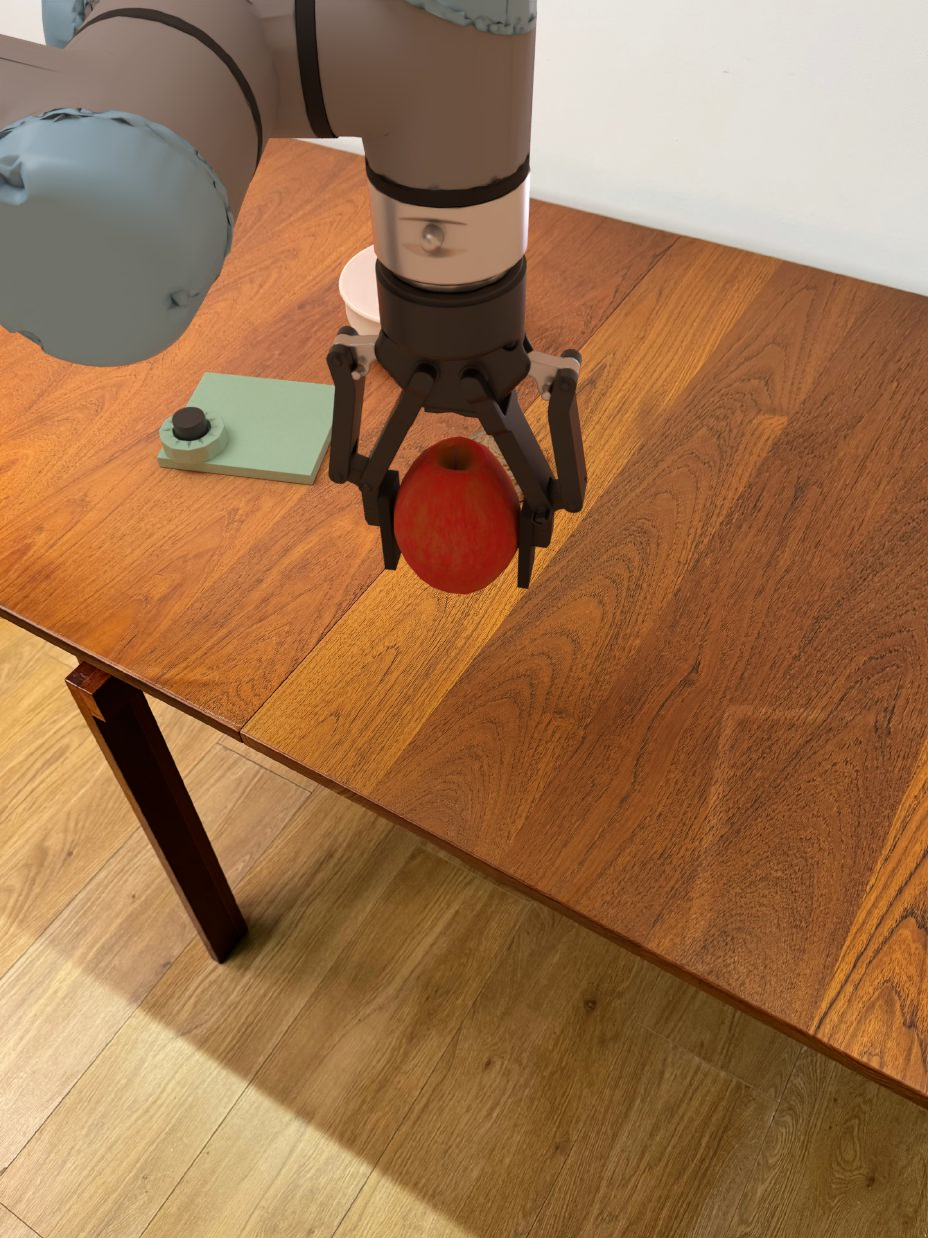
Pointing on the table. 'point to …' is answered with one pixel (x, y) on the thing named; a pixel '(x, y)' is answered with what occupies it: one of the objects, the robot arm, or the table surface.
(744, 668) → the table surface
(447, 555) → the apple
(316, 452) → the scale
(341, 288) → the bowl
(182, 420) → the button
